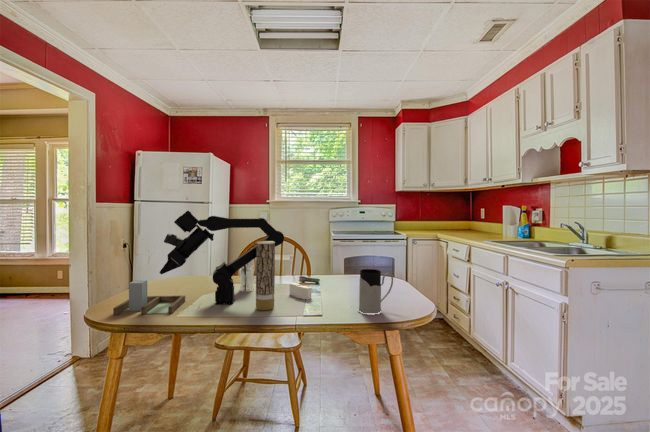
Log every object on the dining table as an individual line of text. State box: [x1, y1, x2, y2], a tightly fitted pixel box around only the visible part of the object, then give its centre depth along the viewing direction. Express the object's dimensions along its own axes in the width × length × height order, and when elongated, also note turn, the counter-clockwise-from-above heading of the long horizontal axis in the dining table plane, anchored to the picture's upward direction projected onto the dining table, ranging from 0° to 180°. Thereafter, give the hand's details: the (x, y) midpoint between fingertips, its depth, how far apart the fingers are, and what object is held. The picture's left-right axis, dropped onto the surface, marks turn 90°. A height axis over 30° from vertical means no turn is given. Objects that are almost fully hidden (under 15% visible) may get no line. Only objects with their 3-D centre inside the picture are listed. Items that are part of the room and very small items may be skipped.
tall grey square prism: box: [128, 279, 148, 312], centre depth 120 cm, size 4×4×10 cm
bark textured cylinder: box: [255, 240, 276, 312], centre depth 122 cm, size 7×7×25 cm
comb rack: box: [113, 294, 186, 316], centre depth 121 cm, size 19×15×2 cm
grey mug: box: [358, 268, 394, 313], centre depth 121 cm, size 9×14×15 cm, turn 113°
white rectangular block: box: [289, 282, 312, 300], centre depth 140 cm, size 15×11×6 cm
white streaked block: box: [238, 259, 256, 293], centre depth 149 cm, size 7×7×15 cm
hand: (162, 271), depth 122 cm, fingers open, 9 cm apart
